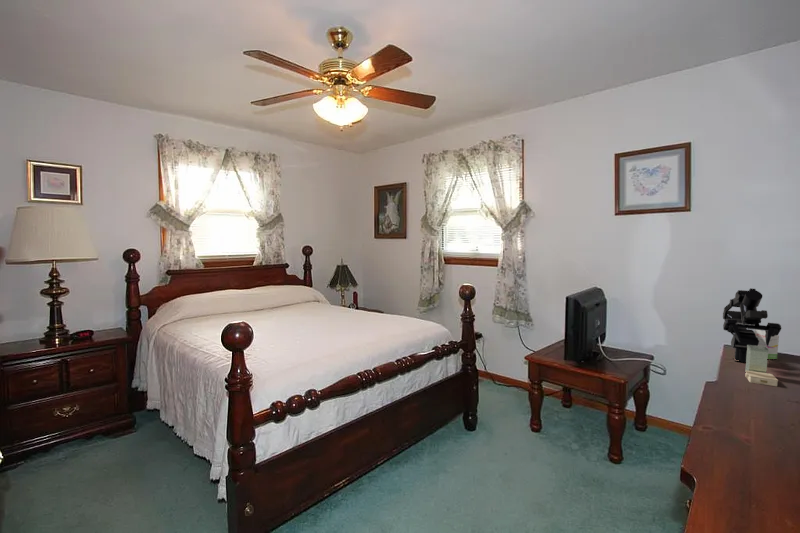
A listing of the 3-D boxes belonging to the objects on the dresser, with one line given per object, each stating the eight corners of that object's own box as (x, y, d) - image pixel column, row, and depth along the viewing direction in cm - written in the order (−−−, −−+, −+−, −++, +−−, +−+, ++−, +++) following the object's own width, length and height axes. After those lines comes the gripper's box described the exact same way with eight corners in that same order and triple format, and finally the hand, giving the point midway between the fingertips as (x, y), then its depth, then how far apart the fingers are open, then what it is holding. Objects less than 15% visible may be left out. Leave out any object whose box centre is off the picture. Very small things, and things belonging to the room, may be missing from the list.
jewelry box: (744, 377, 168) (745, 370, 167) (770, 381, 164) (771, 373, 163) (750, 383, 160) (750, 376, 160) (777, 387, 156) (778, 380, 156)
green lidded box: (744, 372, 173) (747, 344, 172) (762, 374, 170) (764, 346, 169) (748, 376, 168) (750, 347, 167) (766, 378, 165) (768, 350, 164)
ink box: (777, 360, 191) (780, 329, 189) (767, 359, 191) (769, 329, 189) (761, 354, 199) (764, 325, 198) (751, 354, 199) (754, 324, 198)
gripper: (726, 301, 181) (730, 330, 173) (782, 305, 172) (788, 336, 163) (721, 315, 189) (724, 344, 180) (774, 320, 180) (780, 350, 171)
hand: (753, 343), depth 173 cm, fingers open, 9 cm apart
